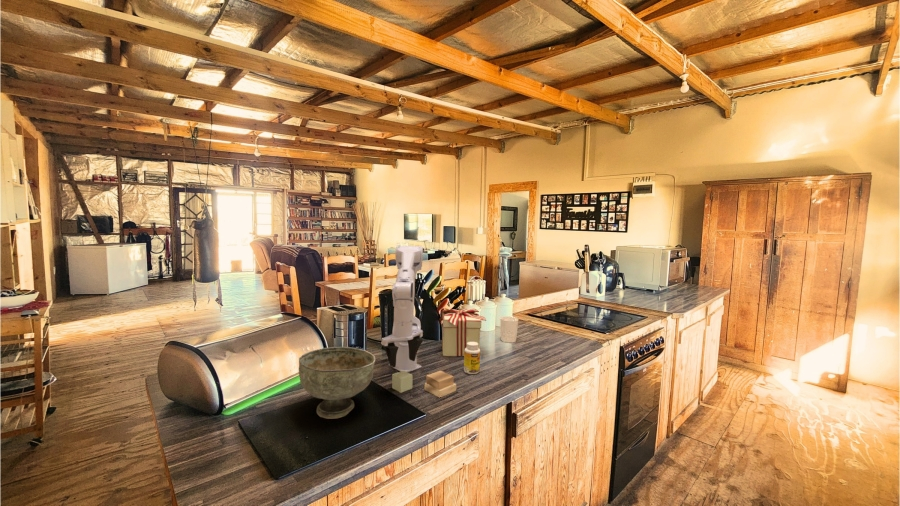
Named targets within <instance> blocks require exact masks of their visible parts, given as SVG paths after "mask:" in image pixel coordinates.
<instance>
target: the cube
mask: <svg viewBox="0 0 900 506" xmlns="http://www.w3.org/2000/svg"><path fill="white" fill-rule="evenodd" d="M391 378H392V379H391V389H393V390H395V391H397V392H399V393H401V394H402V393H404V392H407V391H409V390H412V389H413V374H412V373H410V372H406V371H399V372H395V373H392V375H391Z"/></svg>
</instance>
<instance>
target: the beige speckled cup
mask: <svg viewBox="0 0 900 506" xmlns="http://www.w3.org/2000/svg"><path fill="white" fill-rule="evenodd" d="M499 319H500V324H499V326H500V327H499V328H500V341H502V342H503V343H509V344H511V343H516V342H517V336H518V329H519V328H518V327H519V318H518V317H515V316H507V315H506V316H500V318H499Z"/></svg>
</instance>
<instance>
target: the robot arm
mask: <svg viewBox="0 0 900 506" xmlns="http://www.w3.org/2000/svg"><path fill="white" fill-rule="evenodd" d="M423 253H424V247H423V246H422V245H418V246H417V245H396V247H395V254H394V255H395V257H394V258H395V263H396V264H395V265H396V268H397V273H396V278H395V283H393V284H392V290H391V293H392V294H391V295H392V300H393V301H392V306H393V307H394V308H393V324H392V325H393V326H392V333H391V334H390V335H388V336H385V337H382V338H381V346H382V348H383V350H384V352H385V354H386V355H387V359H388V366H389V367H392V368H393V369H395V370H397V371H399V372H401V371H406V372H408V373H410V372H412V371H415V370H418V369H421V368H422V365H420V364H419V363H417V354H418V351H419V348H420V346H421V344H422V343H423V338H422V337H423V335H424V334H423V333H424V331H423V329H421V328H422V325H421V322H422V321H420V319H419V318H418V317H416V316H415V315H414V309H415V293H416V292H415V290H416V289H415V287H416V283H415V282H416V276H417V272H420V271H421V270H422V267H423V259H424V254H423Z"/></svg>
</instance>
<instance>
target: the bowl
mask: <svg viewBox="0 0 900 506" xmlns="http://www.w3.org/2000/svg"><path fill="white" fill-rule="evenodd" d="M375 363H376V356H375V355H374V354H373V353H372V352H369V351H367V350H365V349H362V348H361V349H360V348H358V347H350V346H331V347H323V348H319V349H314V350H312V351H308V352H305V353H304V354H302V355H301V356H300V357H298V376H299V382H300V384H301V386H302V388H303V389H304V390H305V391H306V393H308V394H309V395H311V397H314V398H316V399H322V400H323V401H322V402H320V403H318V405H317V407H316V414H317V415H318V416H319V417H320V418H323V419H327V420H329V419H331V420H332V419H339V418H344V417H346V416H347V415H348V414H349V413H350V412H351V411H352V410H353V409H354V408H355V402H354V400H353V399H351V398H353V397H355V396H357V395H358V394H359V393H361V392H363V391H364V390H365V389H366V388H367V387H368V386H369V385H370V383H371V382H372V379H373V377H374V369H375Z"/></svg>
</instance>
